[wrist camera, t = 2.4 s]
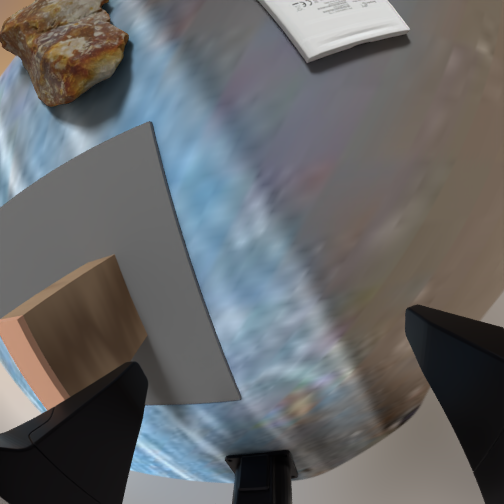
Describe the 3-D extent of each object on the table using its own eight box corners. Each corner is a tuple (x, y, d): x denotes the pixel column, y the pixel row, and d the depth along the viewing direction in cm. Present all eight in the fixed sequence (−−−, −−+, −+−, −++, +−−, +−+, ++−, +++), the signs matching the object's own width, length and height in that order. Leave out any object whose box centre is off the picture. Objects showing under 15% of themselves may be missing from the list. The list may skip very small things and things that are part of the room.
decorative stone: (49, -40, 5) (160, 5, 9) (71, -22, 9) (176, 33, 13) (-24, 53, 7) (50, 137, 11) (5, 60, 11) (85, 137, 16)
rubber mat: (240, 395, 19) (240, 399, 19) (42, 392, 22) (40, 394, 22) (152, 122, 14) (149, 121, 14) (-30, 234, 17) (-32, 235, 17)
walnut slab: (147, 335, 18) (87, 429, 9) (120, 338, 18) (57, 422, 9) (114, 254, 16) (17, 319, 7) (87, 262, 16) (-6, 323, 8)
